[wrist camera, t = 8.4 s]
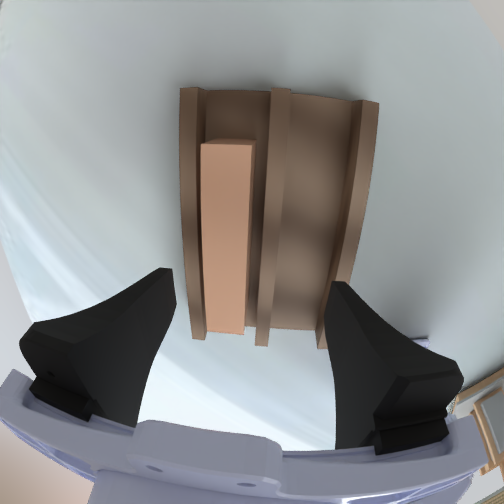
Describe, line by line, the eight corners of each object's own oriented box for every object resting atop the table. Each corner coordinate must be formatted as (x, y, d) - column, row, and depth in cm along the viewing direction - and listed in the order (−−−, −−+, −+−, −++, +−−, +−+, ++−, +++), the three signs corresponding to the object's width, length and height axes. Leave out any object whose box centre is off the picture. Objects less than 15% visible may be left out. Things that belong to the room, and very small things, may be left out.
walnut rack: (330, 323, 24) (335, 349, 21) (195, 313, 24) (186, 337, 21) (369, 106, 15) (387, 105, 13) (188, 92, 16) (171, 88, 13)
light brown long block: (248, 299, 22) (243, 334, 18) (217, 296, 22) (207, 331, 18) (256, 139, 16) (251, 145, 13) (216, 138, 16) (200, 144, 13)
